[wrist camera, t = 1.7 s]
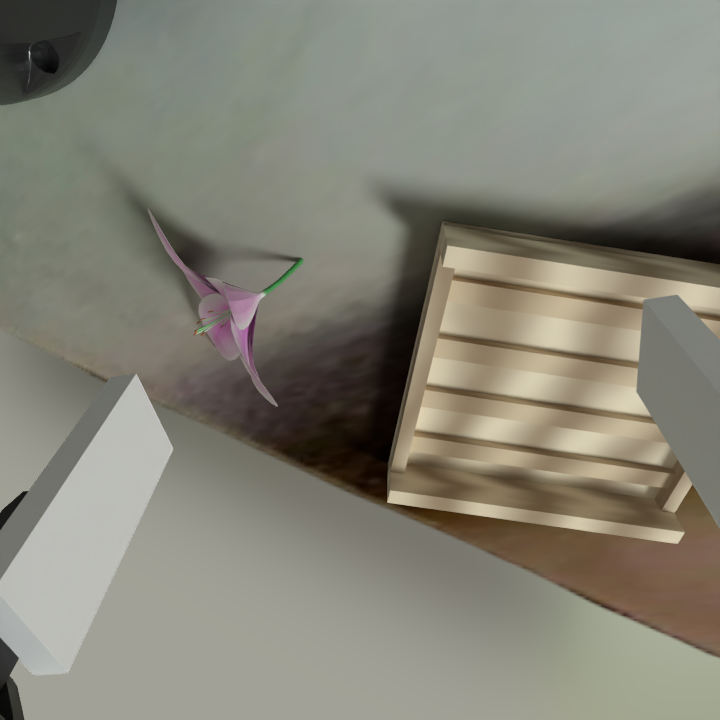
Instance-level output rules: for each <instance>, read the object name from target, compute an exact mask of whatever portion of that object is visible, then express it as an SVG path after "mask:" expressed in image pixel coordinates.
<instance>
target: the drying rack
mask: <svg viewBox="0 0 720 720" xmlns="http://www.w3.org/2000/svg"><path fill="white" fill-rule="evenodd" d="M671 295H678V296H679V297H680V298H681V299H682V300H683V301H684V302H685V303H686V304H687V305H688V306H689V307H690V309H691V310H692V311H693V312H694V313H695V314H696V315H697V316H698V317H699V318H700V319H701V320H702V321H703V322H704V324H705V325H706V326H707V327H708V328H709V329H710V330H711V331H712V332H713V333H714V334H715V335H716V336H717V337H718V339H719V340H720V264H714V263H707V262H701V261H694V260H688V259H682V258H675V257H669V256H663V255H656V254H650V253H643V252H637V251H631V250H624V249H618V248H611V247H605V246H599V245H592V244H586V243H580V242H573V241H567V240H560V239H554V238H548V237H541V236H535V235H529V234H522V233H516V232H509V231H503V230H497V229H490V228H484V227H477V226H471V225H465V224H458V223H452V222H446V221H442V225H441V230H440V234H439V239H438V243H437V247H436V252H435V256H434V261H433V265H432V270H431V274H430V279H429V283H428V288H427V292H426V297H425V301H424V305H423V310H422V314H421V319H420V323H419V328H418V332H417V337H416V341H415V346H414V350H413V355H412V359H411V363H410V368H409V372H408V377H407V381H406V386H405V390H404V395H403V399H402V404H401V408H400V413H399V417H398V421H397V426H396V430H395V435H394V439H393V444H392V448H391V453H390V457H389V462H388V490H387V503H394V504H401V505H409V506H416V507H423V508H430V509H437V510H444V511H451V512H458V513H465V514H472V515H479V516H486V517H493V518H500V519H507V520H514V521H521V522H528V523H535V524H542V525H549V526H556V527H563V528H570V529H577V530H584V531H591V532H598V533H605V534H612V535H619V536H626V537H633V538H640V539H647V540H654V541H661V542H668V543H675V544H678V542H679V541H680V539H681V538H682V536H683V535H684V533H685V532H684V530H683V528H682V526H681V524H680V523H679V521H678V519H677V517H676V515H675V511H676V510H677V508H678V506H679V505H680V503H681V502H682V500H683V498H684V497H685V495H686V494H687V492H688V490H689V489H690V487H691V486H692V482H691V481H690V479H689V477H688V476H687V474H686V472H685V471H684V469H683V467H682V466H681V464H680V463H679V461H678V459H677V458H676V456H675V454H674V453H673V451H672V449H671V448H670V446H669V444H668V443H667V441H666V440H665V438H664V436H663V435H662V433H661V431H660V430H659V428H658V426H657V425H656V423H655V421H654V420H653V418H652V417H651V415H650V413H649V412H648V410H647V408H646V407H645V405H644V403H643V402H642V400H641V398H640V397H639V395H638V393H637V392H636V388H637V376H638V363H639V350H640V338H641V325H642V312H643V300H644V299H651V298H657V297H664V296H671Z"/></svg>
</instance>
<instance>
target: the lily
mask: <svg viewBox="0 0 720 720" xmlns="http://www.w3.org/2000/svg"><path fill="white" fill-rule="evenodd" d="M147 209H148V207H147ZM148 212H149V215H150V218H151V220H152V223H153V225H154V227H155V229H156V232H157V234H158V236H159V238H160V240H161V242H162V244H163V246H164V248H165V249H166V251H167V252H168V254H169V255H170V257H171V258H172V260H173V261H174V262H175V263H176V264H177V265H178V266H179V267H180V268H181V269H182V271H183V272H184V274H185V276H186V277H187V279H188V281H189V282H190V284H191V285H192V287H193V288H194V290H195V292H196V293H197V294H198V295H199V297H200V298H201V299H202V301H201V302H200V304H199V311H198V312H199V316H200V320H201V321H199V322H197V324H198V323H202V325H203V327H201V328H200V329H198V330H195V334H194V335H196V334H198V333H200V332H202V331H203V330H205V331H204V332H203V334H201V336H202V335H204V334H205V333H206V332H207V334H208V336H209V337H210V339H211V340H212V342H213V343H214V345H215V346H216V348H217V350H218V351H219V353H220V354H221V355H222V356H223V357H224V358H225V359H227V360H230V361H231V360H235V359H236V358H237V357H238V356H240V358H241V360H242V362H243V364H244V366H245V367H246V369H247V371H248V372H249V374H250V375H251V377H252V381H253V383H254V385H255V386H256V388H257V390H258V391H259V392H260V393H261V394H262V395H263V396H264V397H265V398H266V399H267V400H268V401H269V402H271V403H272V404H273V405H275V406H276V407H277V406H278V405H277V404H276V402H275V400H274V399H273V398H272V396H271V395H270V393H269V392H268V391H267V389H266V388H265V387H264V386H263V384H262V383H261V381H260V379H259V377H258V375H257V372H256V369H255V366H254V362H253V335H254V326H255V320H256V313H257V308H258V303H259V301H260V299H261V298H262V297H264V296H265V295H267V294H268V293H269V292H271V291H272V290H274V289H275V288H276V287H277V286H279V285H280V284H281V283H282V282H283V281H284V280H286V279H287V278H288V277H289V276H290V275H291V274H292V273H293V272H294V271H295V270H296V269H297V268H298V267H299V266H300V265H301V264H302V263H303V259H301V258H300V259H299V260H298V261H297V262H296V263H295V264H294V265H293V266H292V267H291V268H290V269H289V270H288V271H287V272H286V273H285V274H284V275H283V276H282V277H280V278H279V279H278V280H277V281H276V282H274V283H273V284H272V285H271V286H269V287H268V288H266V289H264V290H263V291H261V292H258V293H254V292H250V291H247V290H244V289H241V288H238V287H236V286H233V285H230V284H227V283H224V282H222V281H220V280H219V279H215V278H210V277H208V276H205V275H202V274H200V273H197V272H195V271H193V270H191V269H189V268H188V267H186V266H185V264H184V263H183V262H182V261H181V259H180V258H179V257H178V256H177V254H176V253H175V252H174V250H173V248H172V247H171V245H170V244H169V242H168V240H167V239H166V237H165V236H164V234H163V232H162V231H161V229H160V227H159V225H158V224H157V222H156V220H155V218H154V217H153V215H152V213H151V212H150V210H149V209H148ZM202 329H203V330H202ZM200 330H201V331H200ZM198 331H199V332H198Z"/></svg>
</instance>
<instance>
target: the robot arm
mask: <svg viewBox="0 0 720 720" xmlns="http://www.w3.org/2000/svg"><path fill="white" fill-rule="evenodd" d="M116 3H117V0H0V105H8V104H14V103H18V102H23V101H27V100H31V99H35V98H38V97H42V96H45V95H48V94H51V93H53V92H55V91H58V90H60V89H61V88H63V87H65V86H67V85H68V84H69V83H71V82H72V81H74V80H75V79H76V78H77V77H78V76H80V75H81V74H82V73H83V72H84V71H85V70H86V69H87V67H88V66H89V65H90V64H91V63H92V61H93V60H94V59H95V57H96V56H97V54H98V52H99V51H100V49H101V47H102V45H103V43H104V41H105V39H106V37H107V35H108V32H109V30H110V27H111V23H112V20H113V17H114V13H115V8H116ZM636 392H637V393H638V395H639V397H640V398H641V400H642V402H643V403H644V405H645V407H646V408H647V410H648V412H649V413H650V415H651V417H652V418H653V420H654V421H655V423H656V425H657V426H658V428H659V430H660V431H661V433H662V435H663V436H664V438H665V440H666V441H667V443H668V444H669V446H670V448H671V449H672V451H673V453H674V454H675V456H676V458H677V459H678V461H679V463H680V464H681V466H682V467H683V469H684V471H685V472H686V474H687V476H688V477H689V479H690V481H691V482H692V484H693V486H694V487H695V489H696V490H697V492H698V494H699V495H700V497H701V499H702V500H703V502H704V504H705V505H706V507H707V509H708V510H709V512H710V513H711V515H712V517H713V518H714V520H715V522H716V523H717V525H718V527H719V528H720V340H719V339H718V337H717V336H716V335H715V334H714V333H713V332H712V331H711V330H710V329H709V328H708V327H707V326H706V325H705V324H704V322H703V321H702V320H701V319H700V318H699V317H698V316H697V315H696V314H695V313H694V312H693V311H692V310H691V309H690V307H689V306H688V305H687V304H686V303H685V302H684V301H683V300H682V299H681V298H680V297H679V296H678V295H671V296H664V297H657V298H651V299H644V300H643V312H642V325H641V338H640V350H639V363H638V376H637V388H636ZM172 451H173V447H172V445H171V443H170V441H169V439H168V437H167V435H166V433H165V431H164V429H163V427H162V425H161V423H160V421H159V419H158V417H157V415H156V413H155V410H154V408H153V407H152V404H151V402H150V400H149V398H148V396H147V394H146V392H145V390H144V388H143V386H142V384H141V382H140V380H139V378H138V376H137V374H129V375H122V376H116V377H110V379H109V380H108V381H107V383H106V384H105V385H104V387H103V388H102V390H101V391H100V392H99V394H98V395H97V397H96V398H95V400H94V401H93V402H92V404H91V405H90V406H89V408H88V409H87V411H86V412H85V413H84V415H83V416H82V417H81V419H80V420H79V422H78V423H77V424H76V426H75V427H74V429H73V430H72V432H71V433H70V434H69V436H68V437H67V438H66V440H65V441H64V443H63V444H62V445H61V447H60V448H59V449H58V451H57V452H56V454H55V455H54V456H53V458H52V459H51V461H50V462H49V463H48V465H47V466H46V468H45V469H44V470H43V472H42V473H41V475H40V476H39V477H38V479H37V480H36V481H35V483H34V484H33V486H32V487H31V489H30V490H29V491H25V492H22V493H21V494H20V495H19V496H18V497H17V498H15V499H14V500H13V501H12V502H11V503H10V504H9V505H7V506H6V507H5V508H4V509H3V510H2V511H1V513H0V720H24V716H23V711H22V706H21V702H20V697H19V693H18V688H17V685H16V684H15V682H14V681H13V679H12V678H11V677H10V676H9V675H10V674H11V672H12V670H13V668H14V666H15V664H16V662H17V661H18V659H19V660H20V662H21V663H22V664H23V665H24V666H25V667H26V668H27V669H28V670H29V671H30V672H31V673H32V674H33V675H47V674H64V673H68V672H69V670H70V668H71V665H72V663H73V661H74V659H75V657H76V655H77V653H78V650H79V648H80V646H81V644H82V642H83V640H84V638H85V636H86V634H87V631H88V629H89V627H90V625H91V623H92V621H93V619H94V616H95V614H96V612H97V610H98V608H99V606H100V604H101V602H102V600H103V597H104V595H105V593H106V591H107V589H108V587H109V585H110V583H111V580H112V578H113V576H114V574H115V572H116V570H117V568H118V566H119V563H120V561H121V559H122V557H123V555H124V553H125V550H126V548H127V546H128V544H129V542H130V540H131V538H132V536H133V534H134V531H135V529H136V527H137V525H138V523H139V521H140V519H141V517H142V514H143V512H144V510H145V508H146V506H147V504H148V502H149V500H150V497H151V495H152V493H153V491H154V489H155V487H156V485H157V483H158V480H159V478H160V476H161V474H162V472H163V470H164V468H165V466H166V463H167V461H168V459H169V457H170V455H171V453H172Z"/></svg>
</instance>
